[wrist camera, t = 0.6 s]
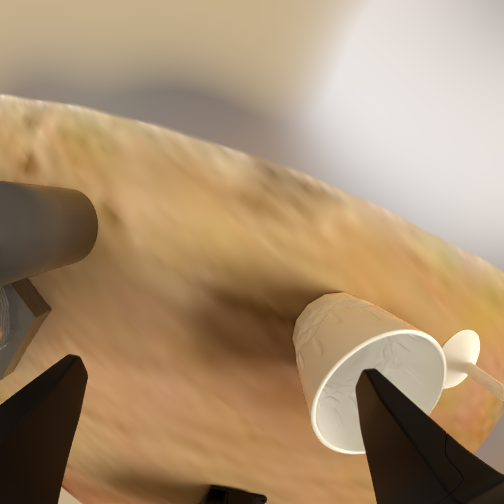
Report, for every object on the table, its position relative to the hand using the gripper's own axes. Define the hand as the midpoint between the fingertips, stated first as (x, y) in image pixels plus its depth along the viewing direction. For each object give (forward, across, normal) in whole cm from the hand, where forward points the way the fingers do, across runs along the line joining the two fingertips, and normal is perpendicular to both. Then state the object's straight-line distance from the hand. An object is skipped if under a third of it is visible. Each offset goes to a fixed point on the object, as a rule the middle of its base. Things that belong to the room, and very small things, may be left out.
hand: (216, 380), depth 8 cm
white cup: (+12, -8, +8) cm, 17 cm away
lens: (+14, +14, +1) cm, 20 cm away
